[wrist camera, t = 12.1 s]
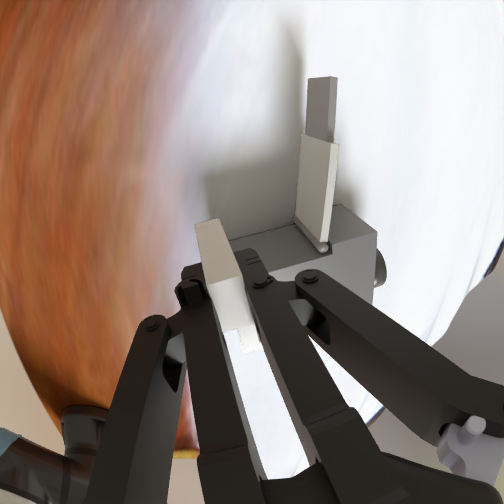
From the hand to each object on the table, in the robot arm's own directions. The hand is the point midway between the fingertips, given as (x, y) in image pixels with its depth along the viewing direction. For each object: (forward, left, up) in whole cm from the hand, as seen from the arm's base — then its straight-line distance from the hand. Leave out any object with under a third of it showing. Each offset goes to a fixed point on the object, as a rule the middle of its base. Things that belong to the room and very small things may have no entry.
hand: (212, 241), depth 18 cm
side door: (+11, 0, -14) cm, 18 cm away
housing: (+9, -12, -14) cm, 21 cm away
